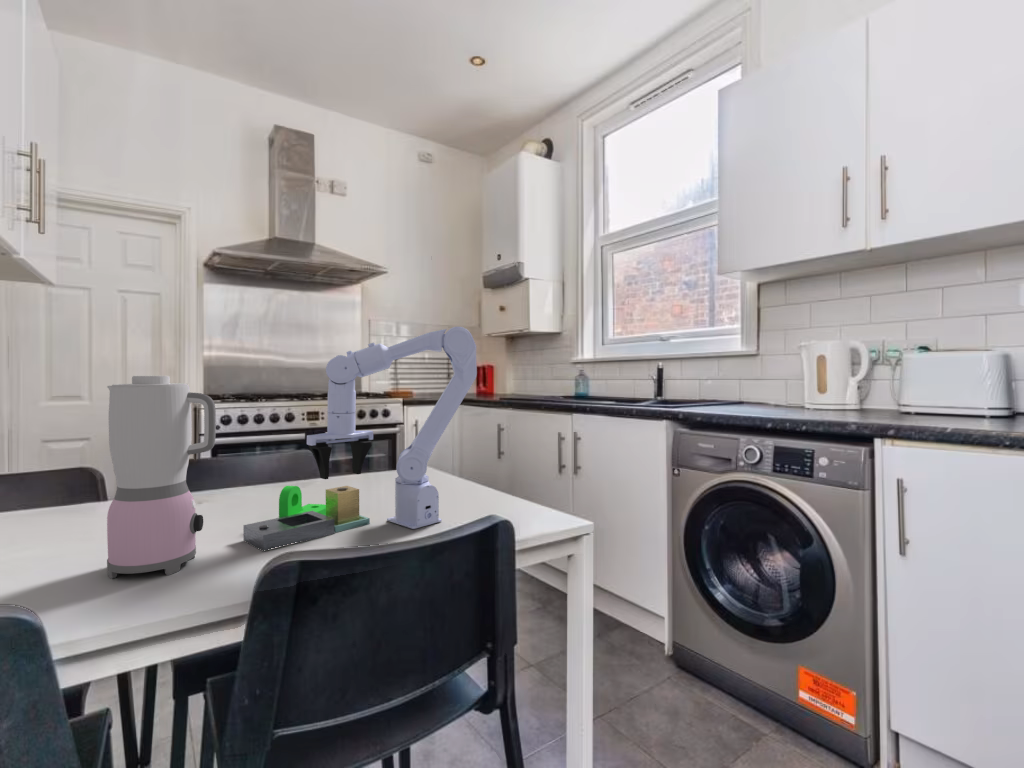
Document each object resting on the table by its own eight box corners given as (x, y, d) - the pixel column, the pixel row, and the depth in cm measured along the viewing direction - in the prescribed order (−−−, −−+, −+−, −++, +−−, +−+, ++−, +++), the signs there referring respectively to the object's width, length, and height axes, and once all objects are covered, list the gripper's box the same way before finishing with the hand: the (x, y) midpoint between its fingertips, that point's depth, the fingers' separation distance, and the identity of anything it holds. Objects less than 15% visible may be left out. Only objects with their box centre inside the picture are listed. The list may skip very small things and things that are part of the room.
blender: (90, 585, 79) (87, 376, 78) (125, 557, 91) (122, 375, 90) (207, 574, 83) (204, 376, 83) (225, 549, 95) (223, 375, 94)
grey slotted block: (334, 533, 104) (334, 517, 104) (263, 551, 94) (263, 533, 94) (312, 524, 110) (312, 509, 110) (243, 540, 100) (243, 523, 100)
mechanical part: (305, 527, 108) (305, 489, 108) (278, 526, 109) (278, 488, 109) (332, 513, 120) (332, 478, 120) (308, 512, 120) (308, 478, 120)
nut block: (359, 521, 111) (359, 488, 111) (338, 526, 107) (337, 492, 107) (346, 517, 114) (346, 485, 114) (325, 522, 110) (325, 488, 110)
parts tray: (369, 523, 111) (369, 518, 111) (335, 532, 105) (335, 526, 105) (349, 516, 116) (349, 511, 116) (315, 524, 110) (315, 519, 110)
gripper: (361, 409, 118) (360, 468, 118) (299, 412, 107) (299, 477, 108) (379, 411, 113) (378, 473, 114) (316, 415, 103) (316, 483, 103)
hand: (341, 476), depth 110 cm, fingers open, 7 cm apart
